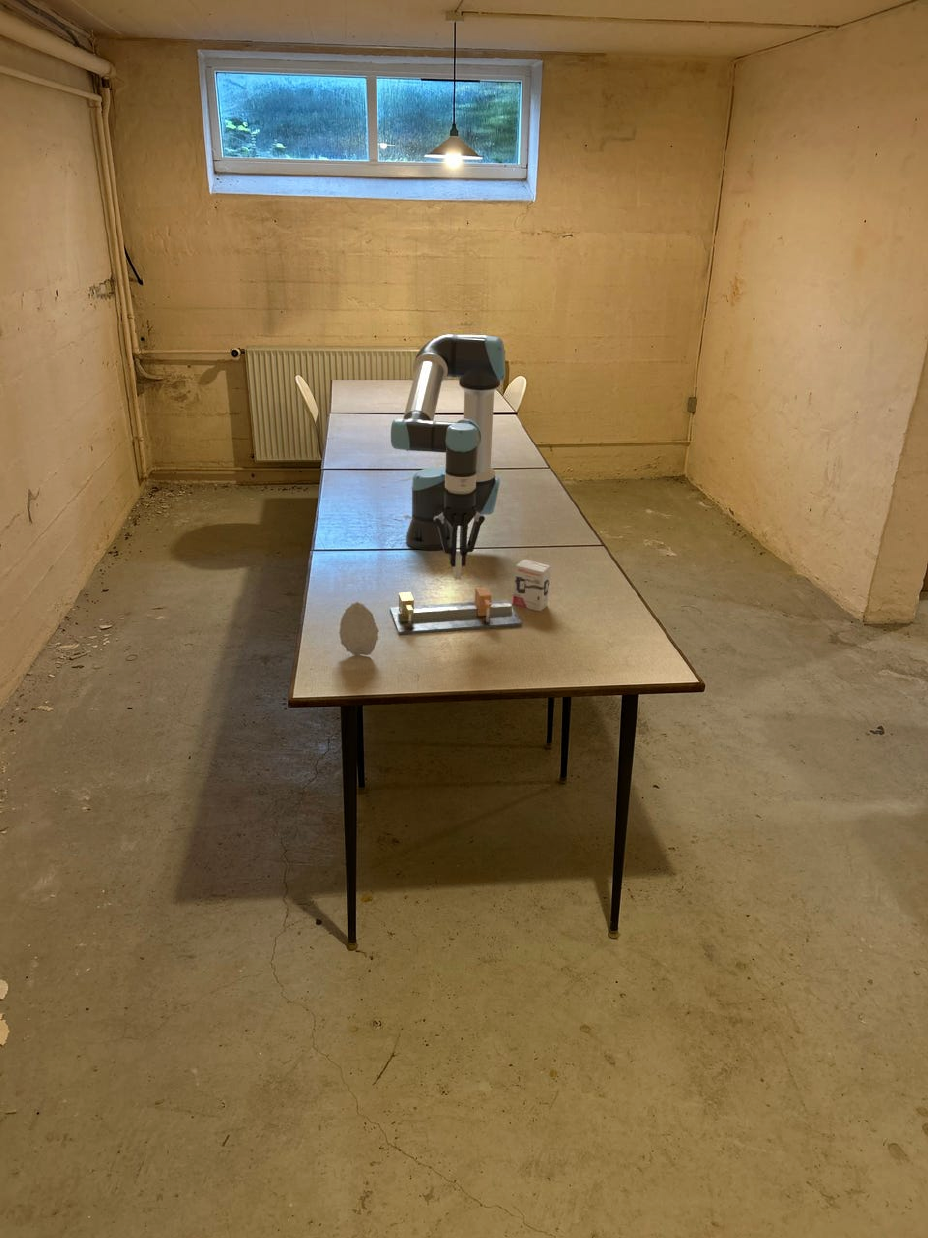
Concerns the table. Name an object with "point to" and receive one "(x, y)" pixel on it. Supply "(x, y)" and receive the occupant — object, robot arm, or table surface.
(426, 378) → the robot arm
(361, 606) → the stone tool
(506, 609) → the rail
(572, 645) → the table surface
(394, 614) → the hole plate
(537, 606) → the ink box
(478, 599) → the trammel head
